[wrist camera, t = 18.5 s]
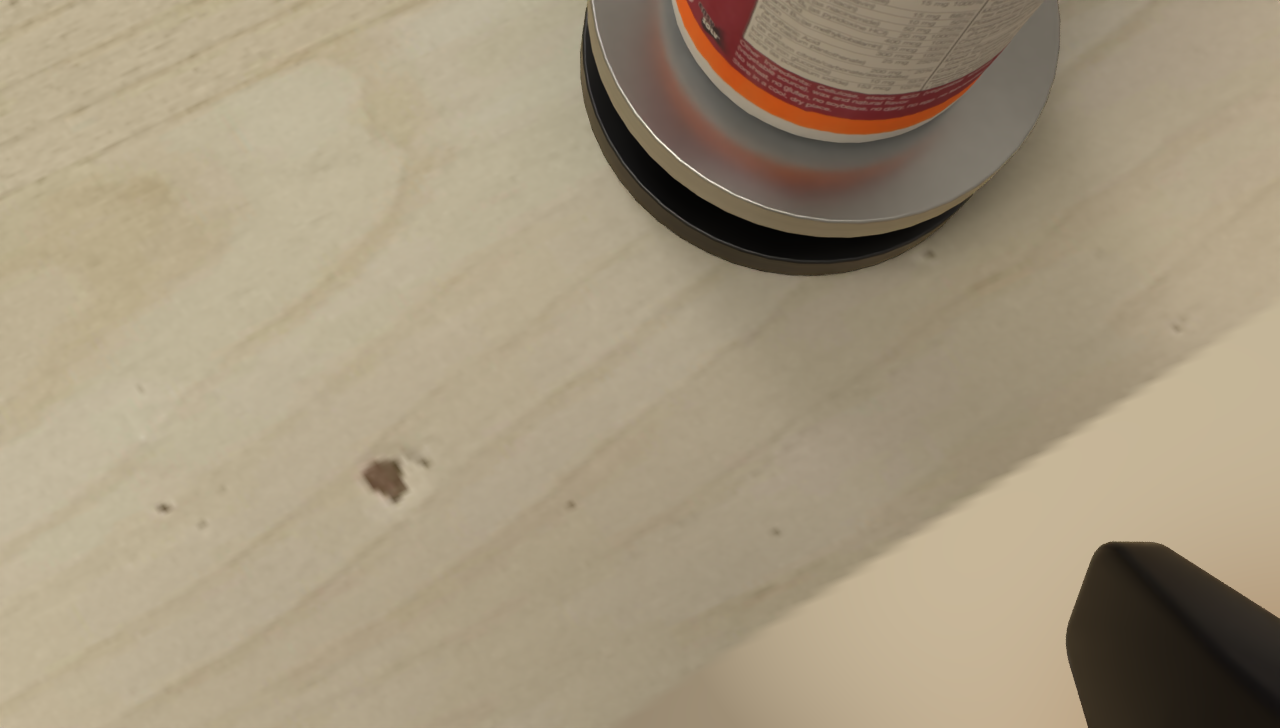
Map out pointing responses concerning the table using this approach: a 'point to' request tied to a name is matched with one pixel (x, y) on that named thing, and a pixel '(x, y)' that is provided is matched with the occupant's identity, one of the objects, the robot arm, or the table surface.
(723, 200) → the stand
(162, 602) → the table surface
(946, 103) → the pill bottle
